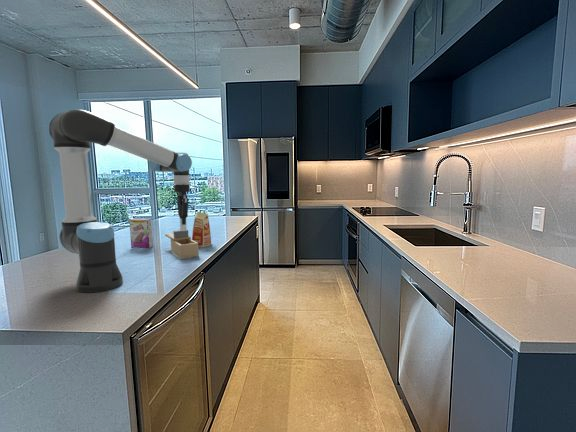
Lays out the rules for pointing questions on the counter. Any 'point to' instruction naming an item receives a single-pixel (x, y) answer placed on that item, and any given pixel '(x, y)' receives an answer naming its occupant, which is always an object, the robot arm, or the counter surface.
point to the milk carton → (201, 230)
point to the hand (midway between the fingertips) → (183, 230)
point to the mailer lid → (178, 235)
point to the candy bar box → (141, 233)
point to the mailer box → (185, 248)
